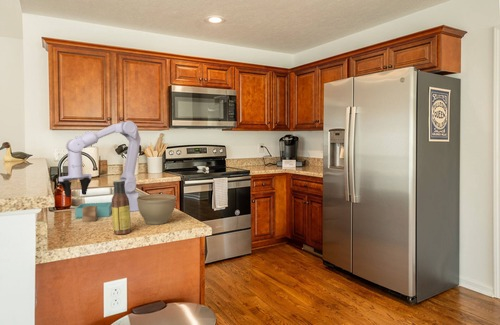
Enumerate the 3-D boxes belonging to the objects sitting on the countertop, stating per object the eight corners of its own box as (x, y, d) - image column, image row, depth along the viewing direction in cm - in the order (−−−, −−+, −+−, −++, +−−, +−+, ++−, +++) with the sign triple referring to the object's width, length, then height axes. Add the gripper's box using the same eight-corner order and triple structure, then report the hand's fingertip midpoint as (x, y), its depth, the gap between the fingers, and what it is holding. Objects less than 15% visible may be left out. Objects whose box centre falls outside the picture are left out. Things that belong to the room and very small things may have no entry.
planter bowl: (136, 228, 136) (135, 201, 135) (138, 219, 152) (137, 194, 151) (177, 225, 140) (177, 199, 140) (175, 217, 156) (175, 193, 155)
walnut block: (97, 219, 152) (96, 205, 152) (95, 221, 147) (95, 207, 147) (85, 219, 151) (84, 206, 150) (82, 222, 146) (82, 208, 146)
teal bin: (112, 211, 168) (111, 202, 168) (109, 216, 157) (108, 206, 156) (81, 213, 164) (80, 203, 164) (75, 218, 153) (75, 208, 153)
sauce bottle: (133, 230, 132) (131, 179, 131) (127, 235, 126) (126, 181, 125) (115, 230, 132) (114, 179, 131) (109, 235, 126) (108, 181, 124)
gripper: (84, 164, 163) (85, 192, 164) (54, 166, 151) (55, 197, 152) (93, 165, 160) (94, 193, 160) (63, 167, 147) (64, 198, 148)
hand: (76, 195), depth 156 cm, fingers open, 7 cm apart
